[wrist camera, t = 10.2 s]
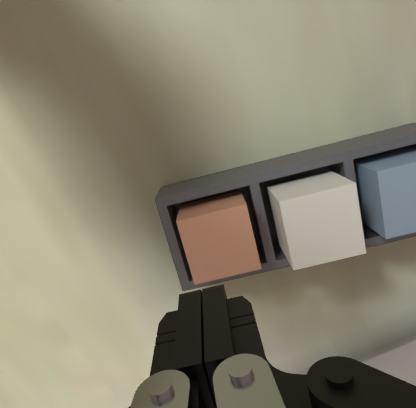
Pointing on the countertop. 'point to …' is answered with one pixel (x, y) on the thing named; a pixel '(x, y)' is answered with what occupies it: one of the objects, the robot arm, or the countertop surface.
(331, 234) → the white key
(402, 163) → the slate key
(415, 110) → the countertop surface
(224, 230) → the terracotta key
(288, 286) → the countertop surface
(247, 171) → the key panel
